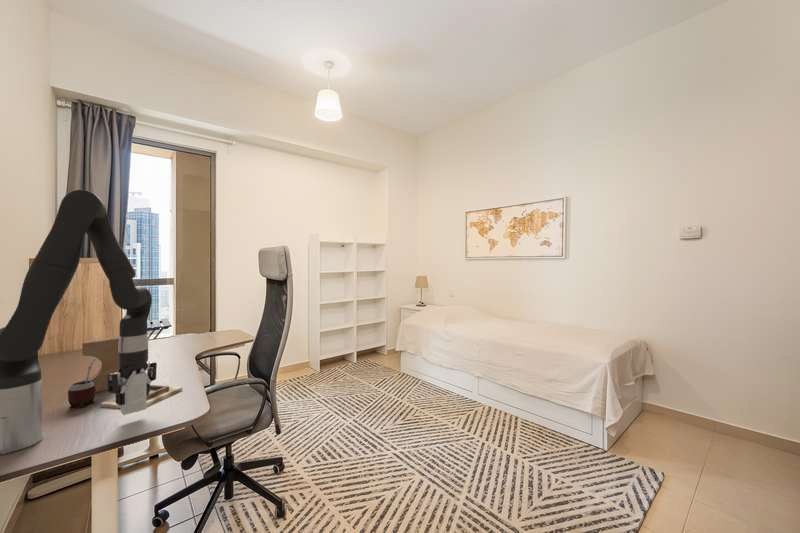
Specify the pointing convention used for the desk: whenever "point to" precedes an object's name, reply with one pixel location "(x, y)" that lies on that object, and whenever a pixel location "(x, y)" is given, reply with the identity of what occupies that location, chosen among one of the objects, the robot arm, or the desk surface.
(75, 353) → the desk surface
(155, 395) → the tan wooden flat frame
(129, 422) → the desk surface
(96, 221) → the robot arm
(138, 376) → the skincare box
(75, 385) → the mate gourd
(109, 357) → the decorative block
